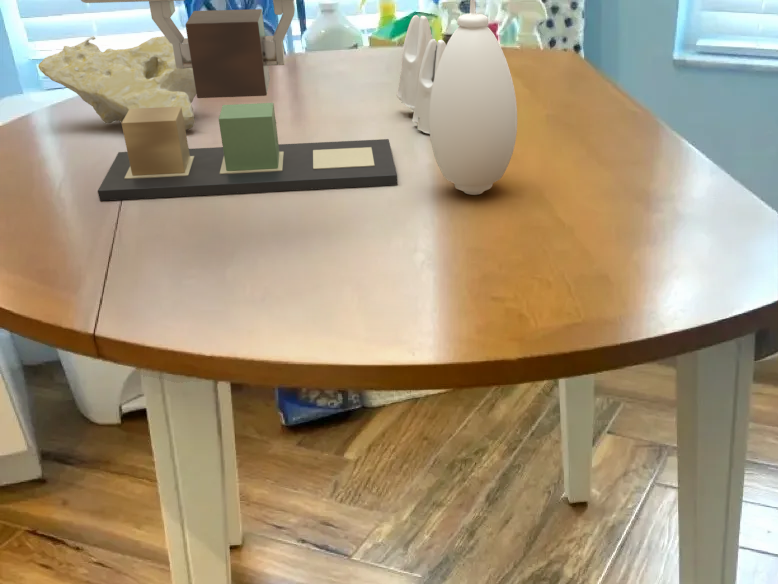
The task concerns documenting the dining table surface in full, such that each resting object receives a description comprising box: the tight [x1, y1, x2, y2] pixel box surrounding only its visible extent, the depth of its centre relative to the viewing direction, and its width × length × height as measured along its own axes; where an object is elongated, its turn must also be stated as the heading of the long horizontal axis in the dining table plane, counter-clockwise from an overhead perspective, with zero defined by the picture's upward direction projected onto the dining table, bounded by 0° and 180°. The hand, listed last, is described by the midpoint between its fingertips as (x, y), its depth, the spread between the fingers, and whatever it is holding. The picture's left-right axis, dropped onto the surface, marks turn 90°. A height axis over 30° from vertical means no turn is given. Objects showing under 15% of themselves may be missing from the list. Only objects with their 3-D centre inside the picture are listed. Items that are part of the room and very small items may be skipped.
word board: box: [97, 138, 398, 202], centre depth 96 cm, size 28×12×1 cm, turn 97°
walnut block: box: [185, 8, 271, 99], centre depth 70 cm, size 5×5×5 cm
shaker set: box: [396, 14, 447, 135], centre depth 107 cm, size 12×4×11 cm, turn 18°
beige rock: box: [38, 35, 197, 131], centre depth 110 cm, size 15×7×15 cm
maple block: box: [120, 107, 190, 175], centre depth 93 cm, size 5×5×5 cm
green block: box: [218, 102, 280, 171], centre depth 94 cm, size 5×5×5 cm
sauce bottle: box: [429, 0, 518, 196], centre depth 86 cm, size 8×8×18 cm
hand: (231, 65), depth 71 cm, fingers closed on walnut block, 5 cm apart
